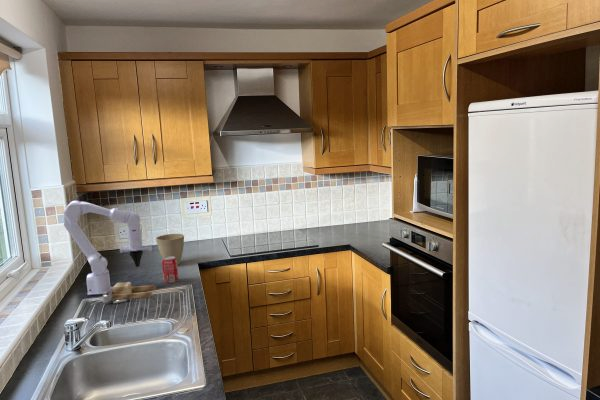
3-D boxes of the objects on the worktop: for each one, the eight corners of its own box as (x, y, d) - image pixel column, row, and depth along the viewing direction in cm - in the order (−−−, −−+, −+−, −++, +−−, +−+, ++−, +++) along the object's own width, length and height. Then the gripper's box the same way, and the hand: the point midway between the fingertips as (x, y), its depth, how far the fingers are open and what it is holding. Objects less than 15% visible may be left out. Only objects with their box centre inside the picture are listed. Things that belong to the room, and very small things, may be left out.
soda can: (172, 278, 227) (171, 255, 225) (181, 280, 222) (179, 257, 220) (160, 282, 221) (158, 258, 220) (169, 284, 217) (167, 260, 215)
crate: (113, 298, 202) (112, 287, 201) (118, 293, 208) (116, 282, 207) (128, 297, 203) (126, 286, 202) (131, 292, 209) (130, 281, 208)
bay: (109, 299, 200) (108, 293, 200) (116, 291, 210) (115, 285, 210) (151, 297, 202) (150, 290, 201) (156, 289, 212) (155, 283, 211)
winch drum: (102, 304, 195) (101, 293, 194) (105, 300, 199) (104, 290, 198) (111, 303, 196) (110, 293, 195) (114, 300, 200) (113, 289, 199)
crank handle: (113, 304, 195) (112, 298, 195) (113, 303, 196) (112, 297, 196) (129, 301, 198) (129, 296, 197) (129, 300, 199) (129, 295, 199)
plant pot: (188, 260, 258) (186, 232, 255) (183, 268, 243) (181, 239, 240) (161, 261, 257) (159, 234, 254) (155, 269, 242) (152, 240, 239)
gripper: (116, 241, 209) (119, 269, 211) (148, 239, 210) (151, 267, 212) (121, 237, 215) (124, 265, 218) (152, 235, 217) (154, 263, 219)
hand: (137, 266), depth 215 cm, fingers closed
